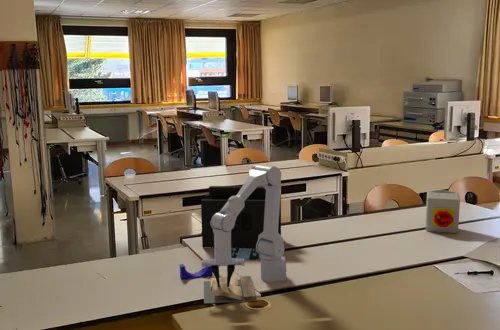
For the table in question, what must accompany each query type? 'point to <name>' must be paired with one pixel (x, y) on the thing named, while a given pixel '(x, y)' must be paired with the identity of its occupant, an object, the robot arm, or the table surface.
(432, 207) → the electrical switch box
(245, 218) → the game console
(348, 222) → the table surface
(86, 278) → the table surface
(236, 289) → the oak plank near
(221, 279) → the oak plank far
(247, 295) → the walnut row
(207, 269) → the blue cradle bracket
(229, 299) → the underlay mat
